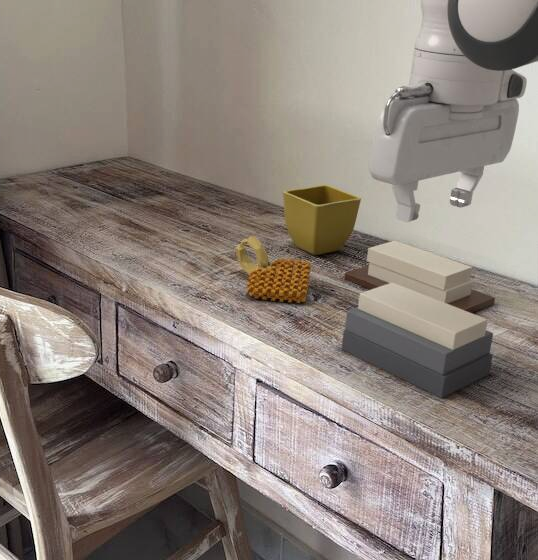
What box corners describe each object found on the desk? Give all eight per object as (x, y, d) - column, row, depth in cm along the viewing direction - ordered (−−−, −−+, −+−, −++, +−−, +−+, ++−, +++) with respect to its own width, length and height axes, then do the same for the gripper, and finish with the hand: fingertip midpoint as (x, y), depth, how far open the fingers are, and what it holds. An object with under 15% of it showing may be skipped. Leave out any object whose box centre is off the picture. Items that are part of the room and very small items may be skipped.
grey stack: (489, 374, 91) (496, 334, 89) (441, 398, 86) (448, 356, 84) (389, 330, 101) (394, 293, 99) (341, 349, 96) (345, 310, 94)
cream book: (485, 336, 89) (488, 319, 88) (452, 350, 85) (455, 333, 84) (390, 297, 98) (392, 282, 97) (357, 309, 94) (359, 293, 94)
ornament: (337, 264, 107) (266, 212, 117) (274, 295, 103) (207, 238, 112) (333, 303, 112) (265, 250, 121) (273, 334, 107) (208, 276, 117)
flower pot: (312, 262, 123) (317, 205, 119) (277, 245, 129) (281, 190, 126) (356, 253, 127) (362, 198, 124) (320, 237, 134) (325, 184, 130)
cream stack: (494, 304, 110) (500, 269, 108) (450, 322, 104) (456, 286, 102) (388, 264, 123) (392, 233, 121) (344, 278, 117) (347, 246, 115)
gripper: (417, 93, 73) (396, 238, 78) (536, 79, 85) (511, 205, 91) (363, 82, 78) (346, 220, 83) (483, 71, 90) (463, 191, 95)
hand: (434, 212), depth 87 cm, fingers open, 8 cm apart
